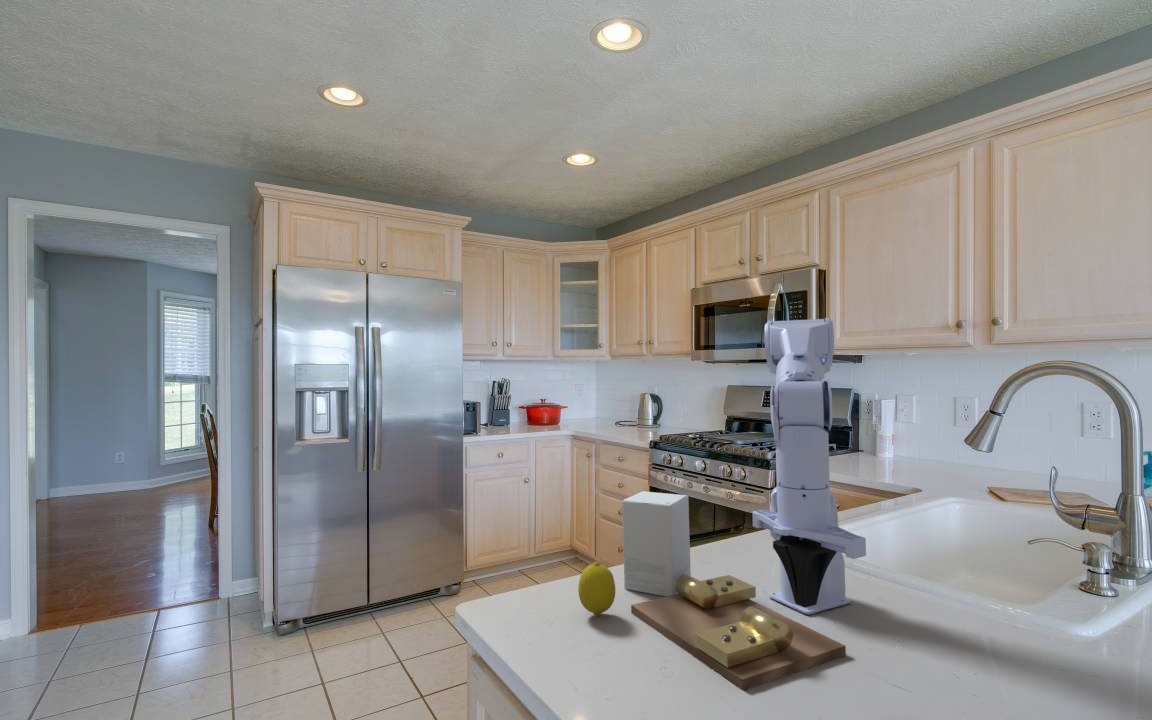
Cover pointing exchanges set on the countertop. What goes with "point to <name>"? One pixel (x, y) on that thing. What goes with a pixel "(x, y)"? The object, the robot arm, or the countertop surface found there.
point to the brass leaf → (745, 638)
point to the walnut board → (689, 618)
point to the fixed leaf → (714, 590)
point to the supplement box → (655, 542)
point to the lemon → (596, 588)
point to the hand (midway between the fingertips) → (805, 604)
